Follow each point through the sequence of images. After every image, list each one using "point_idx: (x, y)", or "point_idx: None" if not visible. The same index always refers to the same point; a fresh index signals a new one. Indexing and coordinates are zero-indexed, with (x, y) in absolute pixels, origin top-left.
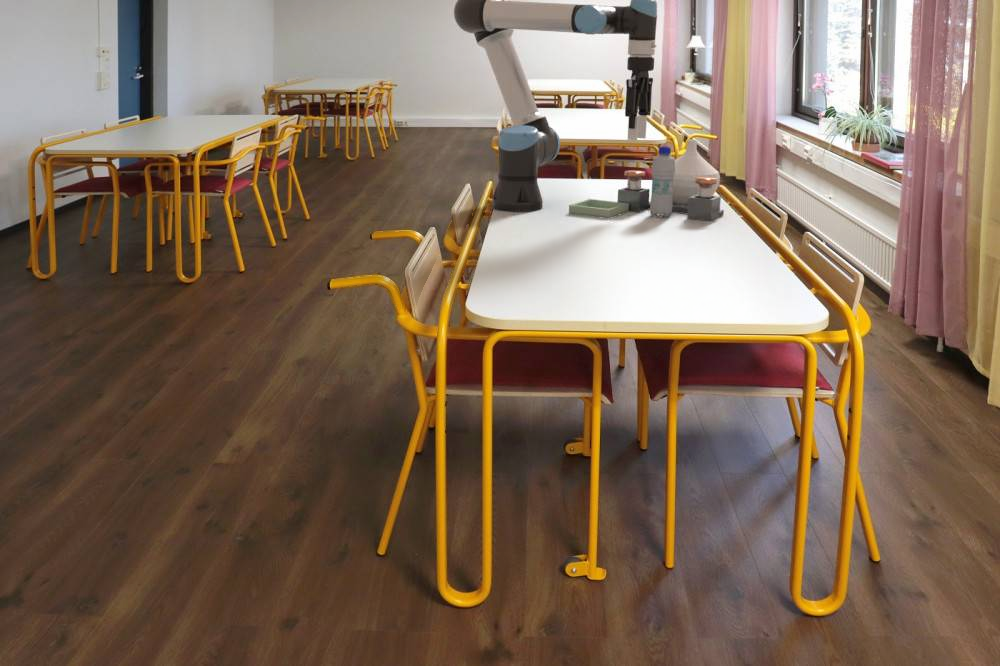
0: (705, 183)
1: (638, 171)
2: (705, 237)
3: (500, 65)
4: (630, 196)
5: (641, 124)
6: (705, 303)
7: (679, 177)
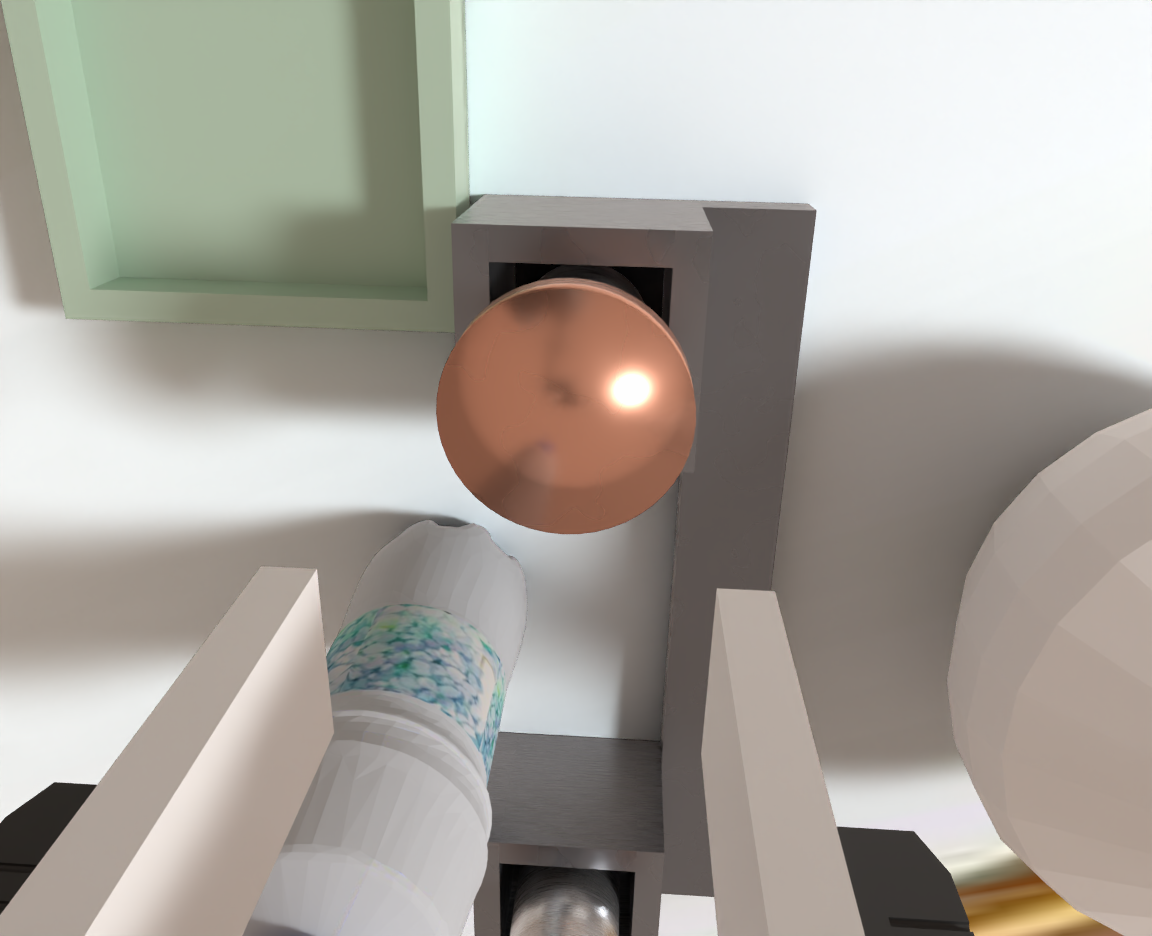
0: None
1: (619, 444)
2: None
3: None
4: None
5: (734, 932)
6: None
7: (988, 707)
